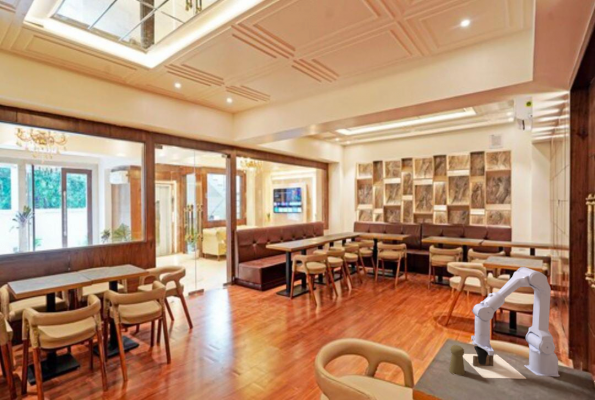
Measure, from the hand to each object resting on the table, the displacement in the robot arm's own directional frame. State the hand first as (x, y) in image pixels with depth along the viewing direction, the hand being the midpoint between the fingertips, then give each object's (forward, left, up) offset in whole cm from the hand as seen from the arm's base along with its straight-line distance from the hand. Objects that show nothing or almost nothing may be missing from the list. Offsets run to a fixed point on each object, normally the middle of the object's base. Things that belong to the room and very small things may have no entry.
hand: (482, 363), depth 135 cm
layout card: (-5, -2, -2) cm, 5 cm away
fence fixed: (-5, -5, -1) cm, 7 cm away
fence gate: (0, -1, -1) cm, 2 cm away
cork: (+13, +4, -2) cm, 13 cm away
